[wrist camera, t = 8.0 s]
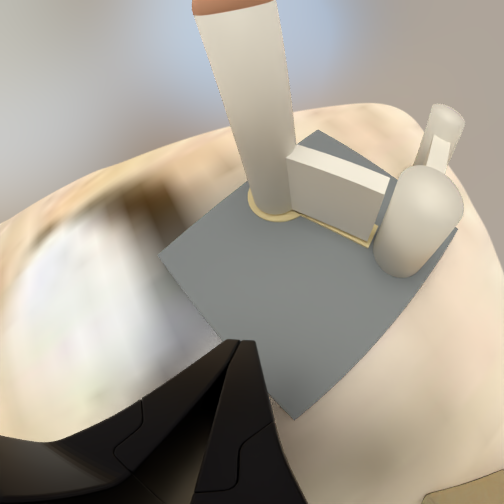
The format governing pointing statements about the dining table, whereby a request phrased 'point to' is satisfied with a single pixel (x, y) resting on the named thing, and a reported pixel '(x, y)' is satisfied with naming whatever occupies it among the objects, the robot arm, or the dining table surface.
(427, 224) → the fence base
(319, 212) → the fence post
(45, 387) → the dining table surface
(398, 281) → the board
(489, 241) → the dining table surface
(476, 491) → the toy refrigerator
